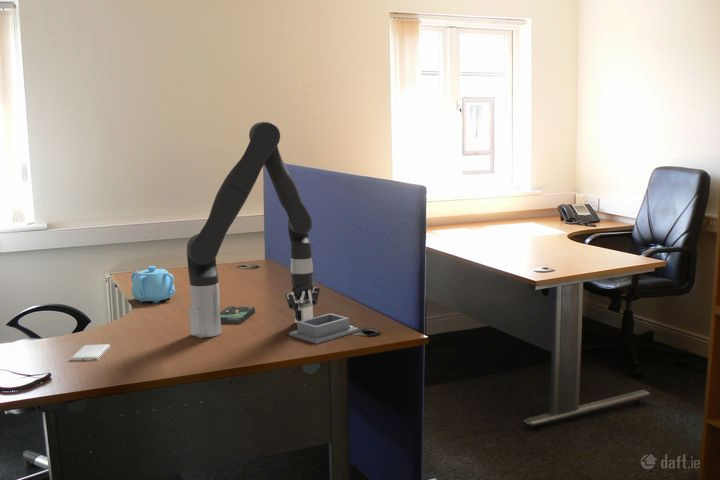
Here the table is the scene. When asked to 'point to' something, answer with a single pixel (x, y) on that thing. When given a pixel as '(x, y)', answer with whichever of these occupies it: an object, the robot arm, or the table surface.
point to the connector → (306, 311)
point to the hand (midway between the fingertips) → (303, 319)
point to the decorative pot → (152, 285)
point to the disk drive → (236, 314)
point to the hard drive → (90, 352)
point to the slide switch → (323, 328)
